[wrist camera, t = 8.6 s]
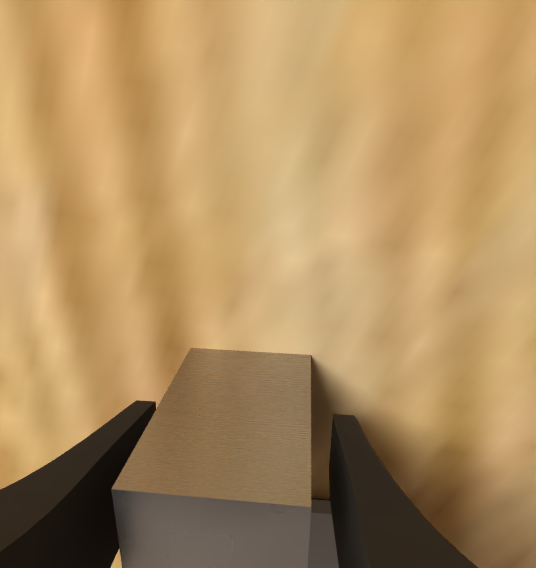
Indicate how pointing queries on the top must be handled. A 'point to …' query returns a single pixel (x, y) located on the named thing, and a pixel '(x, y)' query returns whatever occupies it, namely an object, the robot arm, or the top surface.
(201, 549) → the link block
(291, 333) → the top surface
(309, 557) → the mat
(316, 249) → the top surface
